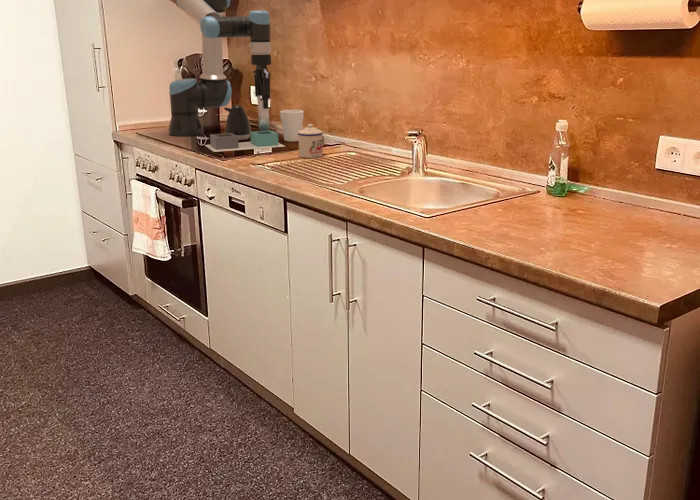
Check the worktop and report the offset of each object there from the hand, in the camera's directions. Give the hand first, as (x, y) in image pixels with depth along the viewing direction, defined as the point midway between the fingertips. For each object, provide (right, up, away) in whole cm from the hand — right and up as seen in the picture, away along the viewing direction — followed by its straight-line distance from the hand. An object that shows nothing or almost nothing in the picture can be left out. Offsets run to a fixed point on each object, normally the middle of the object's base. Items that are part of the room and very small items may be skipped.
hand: (263, 116), depth 269 cm
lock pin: (0, -5, +2) cm, 5 cm away
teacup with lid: (+20, -17, -11) cm, 28 cm away
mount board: (-7, -13, +1) cm, 15 cm away
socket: (0, -10, +4) cm, 11 cm away
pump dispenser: (-13, -7, +17) cm, 23 cm away
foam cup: (+10, -9, +14) cm, 19 cm away
